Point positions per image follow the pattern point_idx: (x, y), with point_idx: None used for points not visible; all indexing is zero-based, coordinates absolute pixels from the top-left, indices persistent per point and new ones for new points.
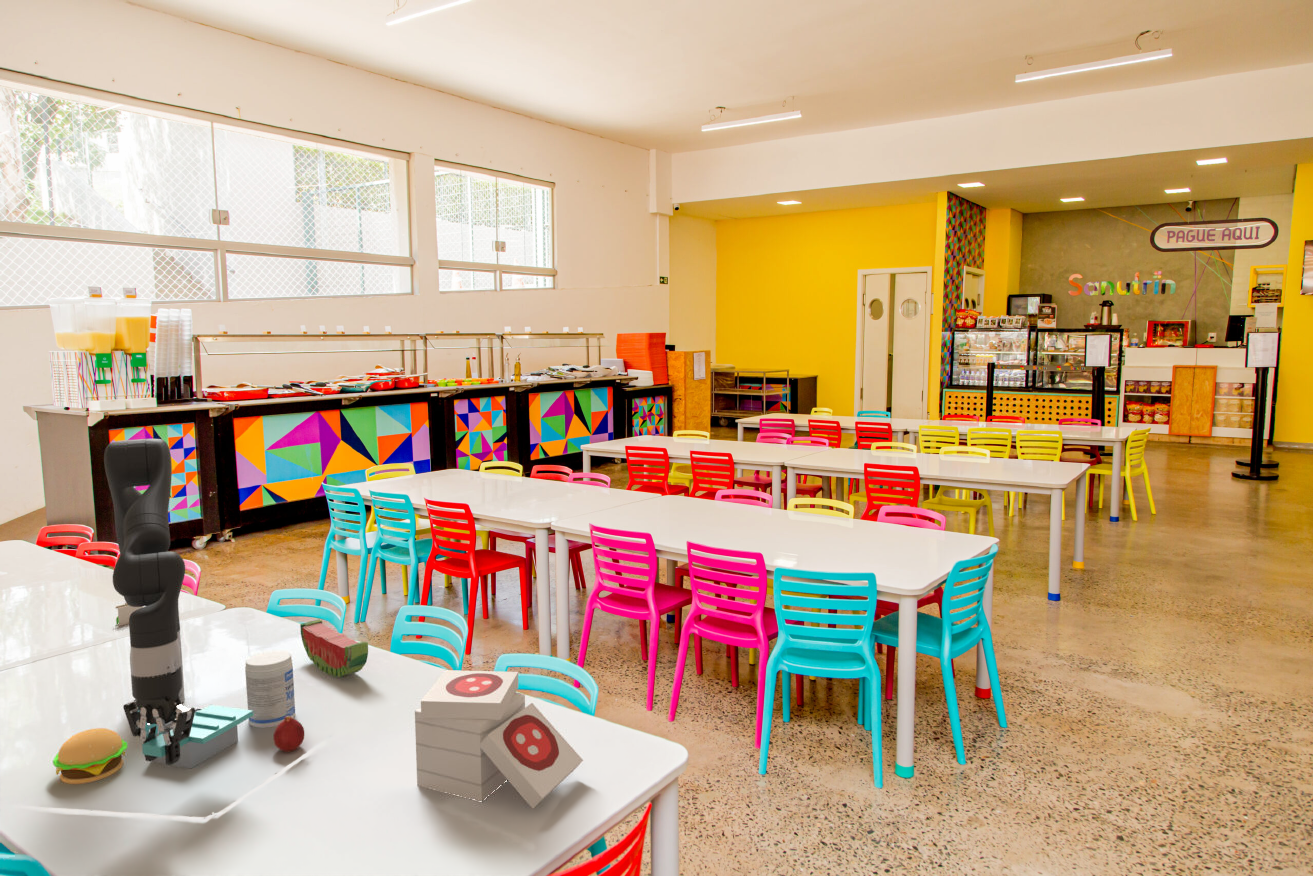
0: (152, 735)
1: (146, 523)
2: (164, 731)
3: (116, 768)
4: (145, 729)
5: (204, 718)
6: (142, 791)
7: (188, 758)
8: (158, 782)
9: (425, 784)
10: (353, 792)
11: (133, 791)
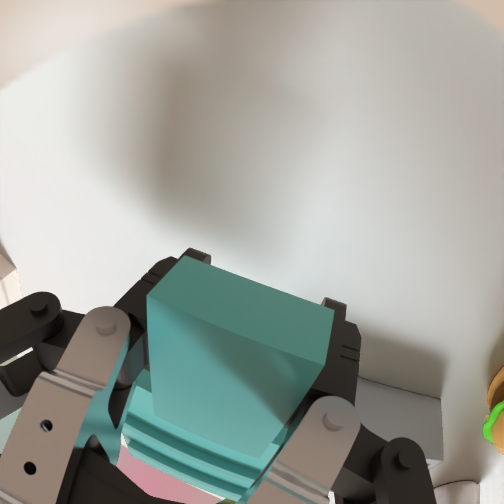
0: (288, 434)
1: None
2: (41, 376)
3: (495, 385)
4: (265, 480)
5: (223, 477)
6: (431, 321)
7: (355, 401)
8: (409, 350)
9: (7, 264)
10: (50, 262)
11: (451, 322)
